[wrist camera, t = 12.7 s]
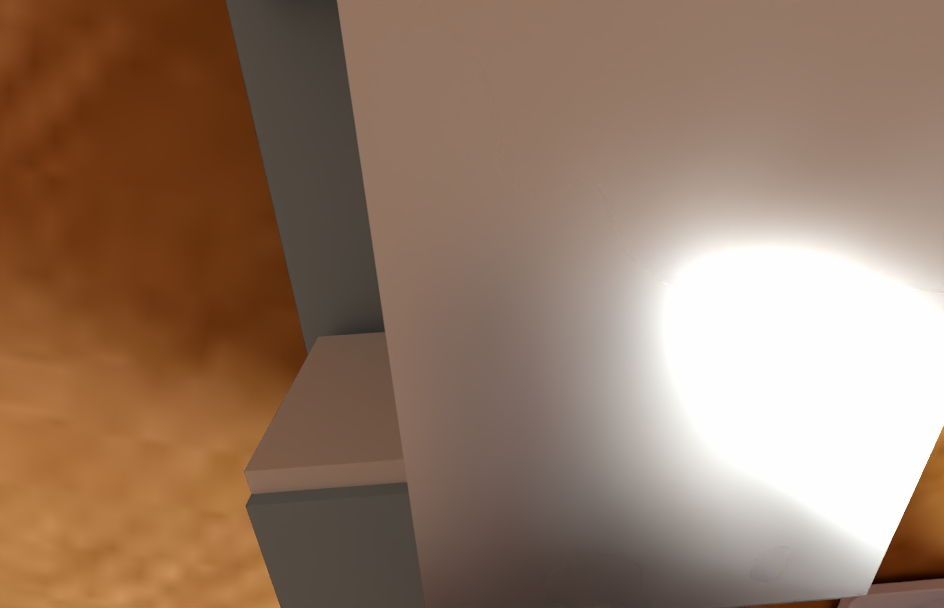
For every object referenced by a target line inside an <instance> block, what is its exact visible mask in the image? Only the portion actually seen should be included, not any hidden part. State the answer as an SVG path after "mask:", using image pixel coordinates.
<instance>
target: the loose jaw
mask: <svg viewBox="0 0 944 608" xmlns="http://www.w3.org/2000/svg"><path fill="white" fill-rule="evenodd" d="M244 473H245V476H246V479H247V482H248V485H249V488H250V491H251V496H250V498H249V500H248V502H247V504H246V509H247V512H248V515H249V517H250V520H251V523H252V526H253V529H254V532H255V535H256V538H257V540H258V543H259V546H260V549H261V552H262V555H263V558H264V561H265V564H266V566H267V569H268V572H269V575H270V578H271V581H272V584H273V587H274V589H275V592H276V595H277V598H278V601H279V604H280V607H281V608H425V601H424V594H423V587H422V580H421V573H420V567H419V560H418V553H417V546H416V539H415V532H414V525H413V519H412V512H411V505H410V498H409V491H408V484H407V477H406V471H405V464H404V457H403V450H402V443H401V436H400V429H399V423H398V416H397V409H396V402H395V395H394V388H393V381H392V375H391V368H390V361H389V354H388V347H387V340H386V333H385V332H378V333H364V334H350V335H335V336H321V337H318V338H317V340H316V342H315V344H314V345H313V347H312V349H311V351H310V353H309V354H308V356H307V358H306V360H305V362H304V364H303V365H302V367H301V369H300V371H299V373H298V374H297V376H296V378H295V380H294V382H293V384H292V385H291V387H290V389H289V391H288V393H287V394H286V396H285V398H284V400H283V402H282V403H281V405H280V407H279V409H278V411H277V413H276V414H275V416H274V418H273V420H272V422H271V423H270V425H269V427H268V429H267V431H266V432H265V434H264V436H263V438H262V440H261V442H260V443H259V445H258V447H257V449H256V451H255V452H254V454H253V456H252V458H251V460H250V461H249V463H248V465H247V467H246V469H245V471H244ZM843 598H852V596H851V597H839V598H827V599H816V600H804V601H792V602H780V603H768V604H757V605H745V606H733V607H721V608H737V607H749V606H761V605H773V604H784V603H796V602H808V601H819V600H831V599H843Z"/></svg>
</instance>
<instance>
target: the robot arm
mask: <svg viewBox="0 0 944 608" xmlns="http://www.w3.org/2000/svg"><path fill="white" fill-rule="evenodd" d="M837 608H944V578H942V579H930V580H918V581H906V582H894V583H883V584H871V586H870V588H869V590H868V593H867V595H863V596H852V598H843V599H841V600H840V603H839V605H838V607H837Z"/></svg>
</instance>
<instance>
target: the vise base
mask: <svg viewBox="0 0 944 608" xmlns="http://www.w3.org/2000/svg"><path fill="white" fill-rule="evenodd" d="M226 4H227V8H228V13H229V17H230V21H231V26H232V30H233V34H234V39H235V43H236V47H237V52H238V56H239V60H240V65H241V69H242V73H243V78H244V82H245V86H246V91H247V95H248V99H249V104H250V108H251V112H252V117H253V121H254V125H255V130H256V134H257V138H258V143H259V147H260V151H261V156H262V160H263V164H264V169H265V173H266V177H267V182H268V186H269V190H270V195H271V199H272V203H273V208H274V212H275V216H276V221H277V225H278V229H279V234H280V238H281V242H282V247H283V251H284V255H285V260H286V264H287V268H288V273H289V277H290V281H291V286H292V290H293V294H294V299H295V303H296V307H297V312H298V316H299V320H300V325H301V329H302V333H303V338H304V342H305V347H306V351H307V355H308V354H309V353H310V351H311V349H312V347H313V345H314V344H315V342H316V340H317V338H318V337H321V336H335V335H350V334H364V333H378V332H385V327H384V320H383V313H382V306H381V299H380V292H379V285H378V279H377V272H376V265H375V258H374V251H373V244H372V237H371V231H370V224H369V217H368V210H367V203H366V196H365V189H364V183H363V176H362V169H361V162H360V155H359V148H358V141H357V135H356V128H355V121H354V114H353V107H352V100H351V93H350V87H349V80H348V73H347V66H346V59H345V52H344V45H343V39H342V32H341V25H340V18H339V11H338V4H337V0H226Z"/></svg>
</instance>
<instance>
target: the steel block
mask: <svg viewBox="0 0 944 608" xmlns="http://www.w3.org/2000/svg"><path fill="white" fill-rule="evenodd" d="M337 4H338V11H339V18H340V25H341V32H342V39H343V45H344V52H345V59H346V66H347V73H348V80H349V87H350V93H351V100H352V107H353V114H354V121H355V128H356V135H357V141H358V148H359V155H360V162H361V169H362V176H363V183H364V189H365V196H366V203H367V210H368V217H369V224H370V231H371V237H372V244H373V251H374V258H375V265H376V272H377V279H378V285H379V292H380V299H381V306H382V313H383V320H384V327H385V333H386V340H387V347H388V354H389V361H390V368H391V375H392V381H393V388H394V395H395V402H396V409H397V416H398V423H399V429H400V436H401V443H402V450H403V457H404V464H405V471H406V477H407V484H408V491H409V498H410V505H411V512H412V519H413V525H414V532H415V539H416V546H417V553H418V560H419V567H420V573H421V580H422V587H423V594H424V601H425V608H721V607H733V606H745V605H757V604H768V603H780V602H792V601H804V600H816V599H827V598H839V597H851V596H863V595H867V593H868V590H869V588H870V586H871V584H872V582H873V579H874V577H875V575H876V573H877V570H878V568H879V566H880V564H881V562H882V559H883V557H884V555H885V553H886V551H887V548H888V546H889V544H890V542H891V540H892V537H893V535H894V533H895V531H896V528H897V526H898V524H899V522H900V520H901V517H902V515H903V513H904V511H905V509H906V506H907V504H908V502H909V500H910V498H911V495H912V493H913V491H914V489H915V486H916V484H917V482H918V480H919V478H920V475H921V473H922V471H923V469H924V467H925V464H926V462H927V460H928V458H929V456H930V453H931V451H932V449H933V447H934V444H935V442H936V440H937V438H938V436H939V433H940V431H941V429H942V427H943V425H944V0H337Z"/></svg>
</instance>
